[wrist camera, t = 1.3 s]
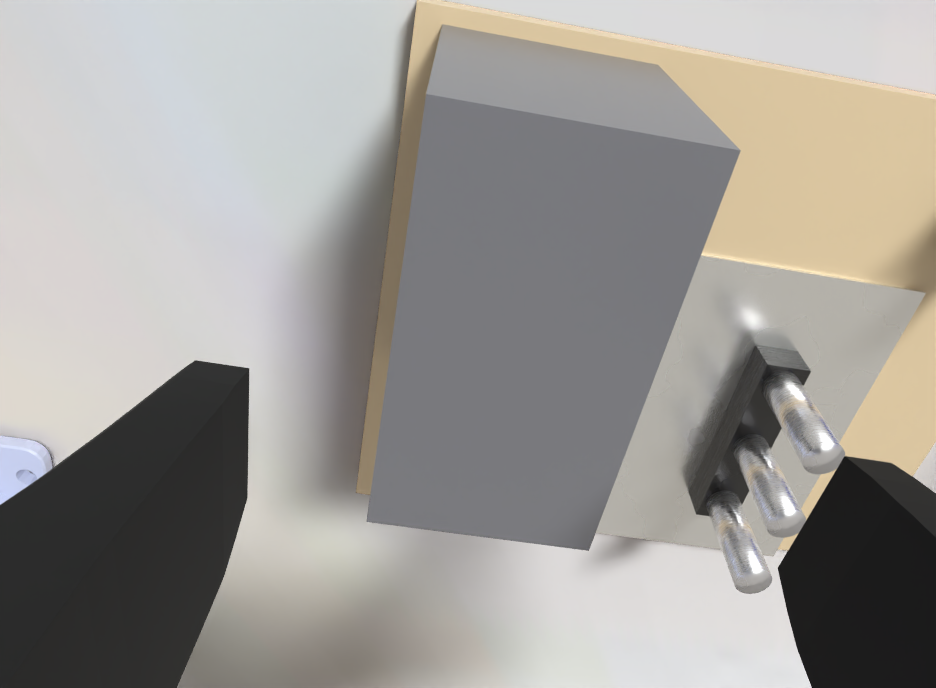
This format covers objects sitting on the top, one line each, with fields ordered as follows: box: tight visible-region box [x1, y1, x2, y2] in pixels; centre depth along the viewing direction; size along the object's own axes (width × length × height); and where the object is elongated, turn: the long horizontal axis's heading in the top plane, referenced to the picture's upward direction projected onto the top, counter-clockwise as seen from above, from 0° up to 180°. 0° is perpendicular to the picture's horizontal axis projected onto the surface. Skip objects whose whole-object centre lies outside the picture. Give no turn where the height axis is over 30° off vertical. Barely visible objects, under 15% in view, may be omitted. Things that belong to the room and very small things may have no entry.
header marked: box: [596, 254, 926, 594], centre depth 17 cm, size 8×5×3 cm, turn 170°
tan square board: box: [356, 0, 936, 550], centre depth 17 cm, size 12×14×1 cm
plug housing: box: [367, 24, 741, 551], centre depth 13 cm, size 7×4×5 cm, turn 170°
